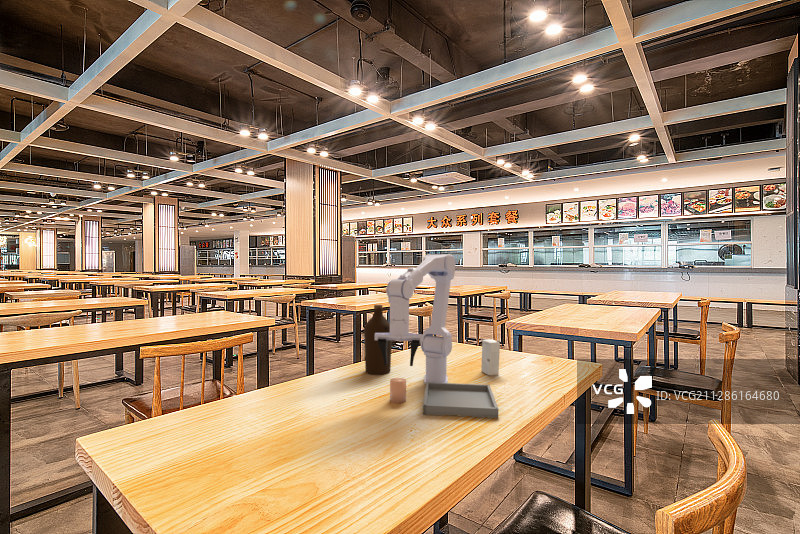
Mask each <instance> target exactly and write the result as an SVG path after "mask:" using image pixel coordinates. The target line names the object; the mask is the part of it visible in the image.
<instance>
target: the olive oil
mask: <svg viewBox="0 0 800 534" xmlns="http://www.w3.org/2000/svg"><path fill="white" fill-rule="evenodd" d="M383 313H384V309H383V304H374V305H373V315H372V317H371V318H370V319H369V320H368V321H367V322H366V324H365V325H364V328H363V329H364V330H363V339H364V361H365V362H364V363H365V366H364V368H365V373H367V374H369V375H374V376H375V375H376V376H377V375H379V376H380V375H387V374H388V373H390V372H391V364H392V360H391V359H392V345H393V344H392V341H393V340H388V348H387V356H388V364H387V365H384V359H383V355H382V352H381V350H380V348H379V346H378V340H375V333H390V321H388V319H387V318H386V317H385V316H384V315H383Z"/></svg>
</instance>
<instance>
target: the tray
mask: <svg viewBox="0 0 800 534" xmlns="http://www.w3.org/2000/svg"><path fill="white" fill-rule="evenodd" d="M423 396H424V397H423V402H422V404H423V405H422V410H423V411H422V414H424V415H426V416H443V415H460V416H459V417H464V416H472V417H471V418H484V417H487V419H488V418H489V419H499V406H498V404H497V402H496V399H495V396H494V394H493V391H492V388H491V386H490V384H481V383H480V384H478V383H457V382H455V383H453V382H452V383H451V382H450V383H449V382H448V383H431V382H426V383H425V389H424V395H423ZM424 415H423V416H424Z"/></svg>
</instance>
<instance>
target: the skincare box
mask: <svg viewBox="0 0 800 534" xmlns="http://www.w3.org/2000/svg"><path fill="white" fill-rule="evenodd" d="M481 344H482V345H481V348H482V349H481V366H480V367H481V372H482V373H484V374H485V375H488V376H499V373H500V348H501V343H500V342H499V341H497V340H495V339H492V338H490V339H489V338H488V339H482V341H481Z"/></svg>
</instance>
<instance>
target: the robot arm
mask: <svg viewBox="0 0 800 534" xmlns="http://www.w3.org/2000/svg"><path fill="white" fill-rule="evenodd" d="M455 270H456V260H455V258H454V256H453V255H452V253H448V254H444V253H443V254H431V253H427V254H426V255H425V256H423V259H422V262H421V263H420V264H419V265H417V266H416V267H408V268H407V271H406V272H403V274H400V275H399V277H398V278H393V279H391V280H390V281H388V283H387V285H386V288H385V292H386V295H387V301H388V304H389V323H390V333H375V340H378V346H379V348H380V350H381V352H382V355H383V359H384V365H387V364H388V356H387V348H388V340H392V341H398V342H399V341H401V342H410V357H409V358H410V360H409V366H410V367H413V366H414V359H415V355H416V352H417V350H418V348H419V346H420V349H421V351H422V352H423V355H424V356H425V374H424V381H423V384H426V382H431V383H449V382H448V380H449V379H448V375H447V373H448V372H447V365H448V363H447V359H448V358H447V357H448V356H449V355H450V354H451V352H452V349H453V341H452V338H453V335H452V333H451V332H450V331H449V330H448V329H447V328H446V322H447V315H448V306H449V298H450V291H451V290H450V289H451V283H452V280H453V279H454V278H455ZM426 275H429V277H430V278H431V279H433V280H434V281H435V287H434V296H433V297H434V298H433V304H432V311H431V319H430V326H428V327H427V328H426V329H424V331H423V334H422V333H410V330H409V329H410V299H411V298H412V297H413V294H414V293H415V292H414V291H415V290H416V288H417V287H418V286H419V285H421V284H422V283H423V281H424V277H425V276H426Z"/></svg>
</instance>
